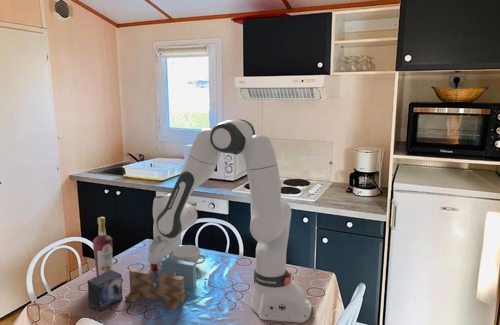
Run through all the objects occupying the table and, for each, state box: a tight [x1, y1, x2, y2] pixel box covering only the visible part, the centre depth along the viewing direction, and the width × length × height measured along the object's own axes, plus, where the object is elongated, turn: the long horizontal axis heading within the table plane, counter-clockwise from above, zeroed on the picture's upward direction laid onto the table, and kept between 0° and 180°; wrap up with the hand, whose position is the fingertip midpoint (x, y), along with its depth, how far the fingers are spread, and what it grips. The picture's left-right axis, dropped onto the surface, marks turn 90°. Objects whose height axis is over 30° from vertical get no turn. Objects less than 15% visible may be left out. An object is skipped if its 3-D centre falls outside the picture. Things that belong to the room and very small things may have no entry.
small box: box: [86, 269, 123, 313], centre depth 136 cm, size 11×6×10 cm, turn 148°
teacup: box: [173, 244, 206, 265], centre depth 166 cm, size 15×12×8 cm
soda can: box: [148, 242, 168, 273], centre depth 163 cm, size 7×7×12 cm
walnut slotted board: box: [125, 267, 189, 311], centre depth 140 cm, size 22×10×10 cm, turn 73°
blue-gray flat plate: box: [157, 257, 197, 290], centre depth 151 cm, size 16×2×10 cm, turn 73°
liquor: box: [92, 216, 113, 277], centre depth 149 cm, size 7×7×28 cm
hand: (165, 264), depth 152 cm, fingers open, 7 cm apart
